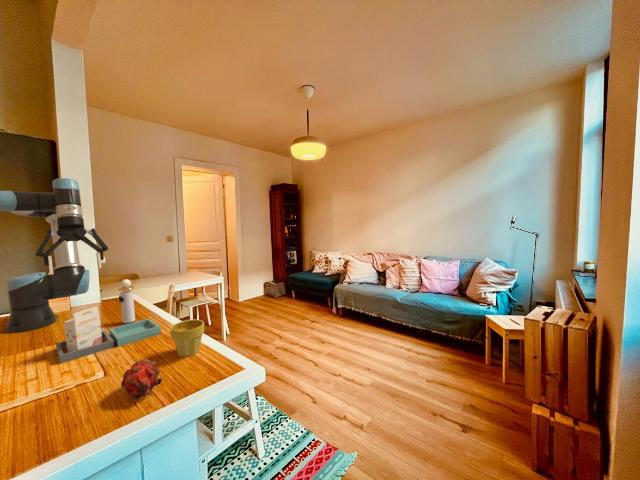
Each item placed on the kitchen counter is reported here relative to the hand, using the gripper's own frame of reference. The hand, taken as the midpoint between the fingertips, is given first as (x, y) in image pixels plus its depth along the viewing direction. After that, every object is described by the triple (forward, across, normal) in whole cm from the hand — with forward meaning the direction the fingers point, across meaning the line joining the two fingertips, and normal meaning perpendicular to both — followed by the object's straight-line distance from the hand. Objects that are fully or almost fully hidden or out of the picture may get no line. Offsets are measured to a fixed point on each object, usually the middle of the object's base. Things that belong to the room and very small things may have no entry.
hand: (77, 271), depth 100 cm
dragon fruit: (+41, +5, -46) cm, 62 cm away
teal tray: (+29, +14, -4) cm, 33 cm away
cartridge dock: (+29, -1, -3) cm, 29 cm away
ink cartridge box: (+29, -1, -2) cm, 29 cm away
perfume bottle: (+24, +16, +14) cm, 33 cm away
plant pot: (+38, +22, -34) cm, 56 cm away
